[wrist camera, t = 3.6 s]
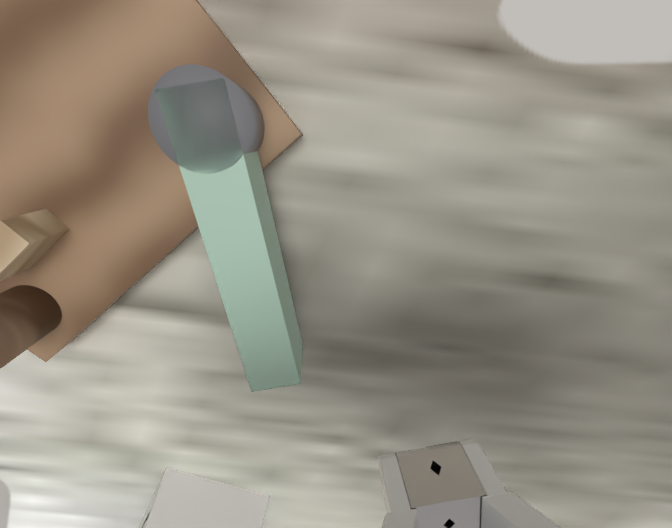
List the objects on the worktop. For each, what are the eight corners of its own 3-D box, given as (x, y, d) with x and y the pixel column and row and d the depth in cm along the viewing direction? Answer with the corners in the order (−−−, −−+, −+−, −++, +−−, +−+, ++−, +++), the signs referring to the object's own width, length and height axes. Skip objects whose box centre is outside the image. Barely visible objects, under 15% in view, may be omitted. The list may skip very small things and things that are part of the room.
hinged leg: (171, 87, 17) (131, 73, 14) (253, 73, 17) (236, 55, 14) (252, 353, 24) (240, 393, 20) (312, 343, 24) (311, 381, 20)
